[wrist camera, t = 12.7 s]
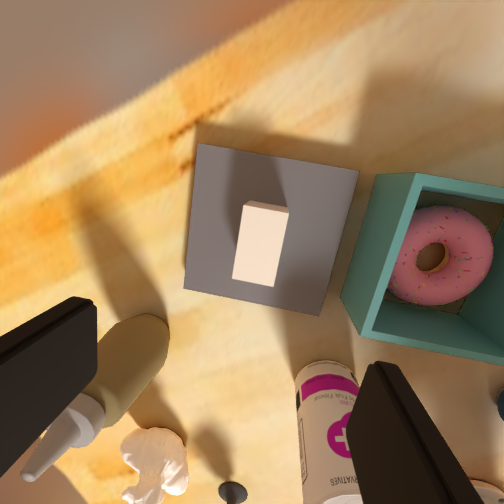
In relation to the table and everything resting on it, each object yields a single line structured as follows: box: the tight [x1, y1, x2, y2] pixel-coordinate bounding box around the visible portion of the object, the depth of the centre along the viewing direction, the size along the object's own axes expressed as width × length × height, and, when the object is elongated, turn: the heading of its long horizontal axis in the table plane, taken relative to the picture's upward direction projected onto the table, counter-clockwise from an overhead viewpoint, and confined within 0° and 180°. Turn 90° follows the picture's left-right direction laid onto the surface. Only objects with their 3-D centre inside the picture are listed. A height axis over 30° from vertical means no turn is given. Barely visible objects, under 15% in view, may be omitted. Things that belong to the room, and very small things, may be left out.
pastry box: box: [340, 173, 504, 366], centre depth 25 cm, size 15×15×8 cm
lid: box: [184, 143, 360, 316], centre depth 26 cm, size 16×16×7 cm
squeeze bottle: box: [20, 314, 170, 482], centre depth 27 cm, size 8×8×18 cm
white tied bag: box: [120, 427, 189, 504], centre depth 36 cm, size 12×8×11 cm
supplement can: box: [295, 360, 363, 504], centre depth 27 cm, size 8×8×15 cm
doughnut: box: [387, 205, 495, 307], centre depth 27 cm, size 11×11×4 cm
